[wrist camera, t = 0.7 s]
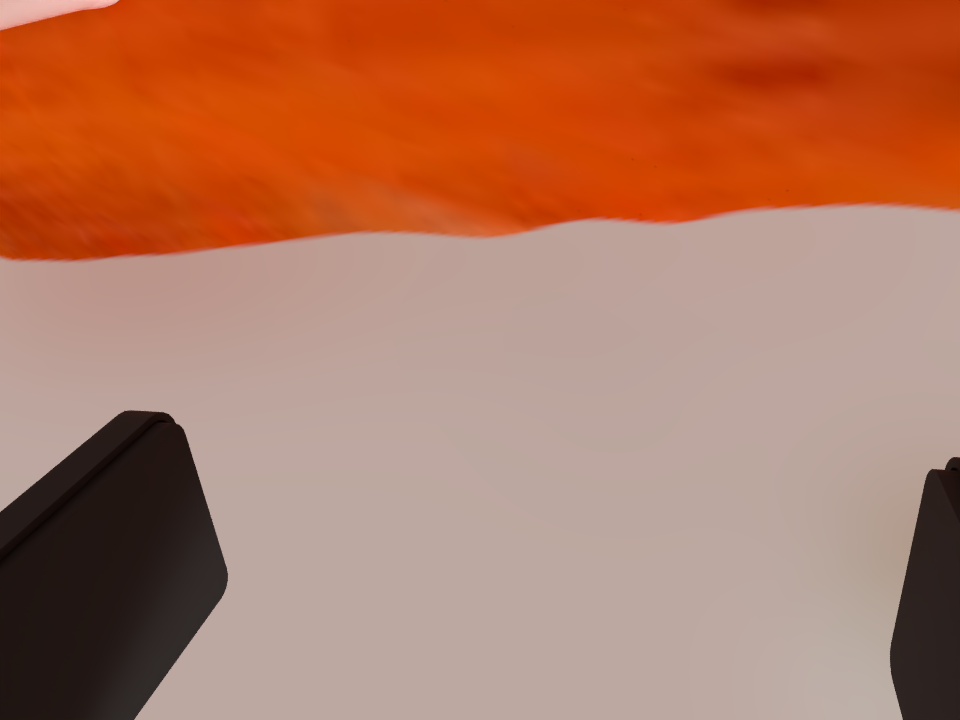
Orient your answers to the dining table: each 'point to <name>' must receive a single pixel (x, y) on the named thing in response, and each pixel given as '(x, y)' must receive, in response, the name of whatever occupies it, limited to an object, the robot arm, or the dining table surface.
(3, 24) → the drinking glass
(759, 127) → the dining table surface
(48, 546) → the robot arm
